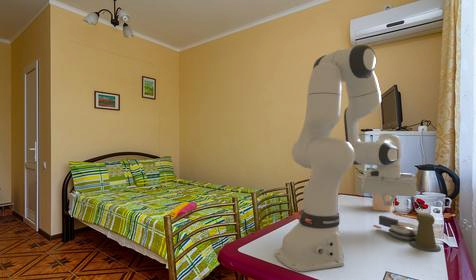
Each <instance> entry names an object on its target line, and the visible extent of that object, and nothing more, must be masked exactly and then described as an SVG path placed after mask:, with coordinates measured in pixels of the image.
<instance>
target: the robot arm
mask: <svg viewBox="0 0 476 280" xmlns="http://www.w3.org/2000/svg"><path fill="white" fill-rule="evenodd" d="M376 66H377V56H376V52H375V51H374V49H373V48H372V47H371V46H370V45H367V44H363V45H362V44H360V45H359V44H358V45H355V46H353V47H348V48H344V49H338V50H336V51H332V52H330V53H328V54H324V55H322V56H320V57H319V58H317V59H316V61H315V62H314V64H313V68H312V70H311V74H310V78H309V80H308V81H309V82H308V88H307V93H306V94H307V97H306V106H305V109H306V110H305V117H304V122H303V125H302V129H301V132H300V134H299V137H298V139H297V141H296V142H295V143H294V144H293V146H292V147H291V157H292V159H293V161H294V162H295V163H296V164H298V165H299V166H301V167H303V168H305V169H309V170H311V173H310V177H309V180H308V182H307V183H306V184H304V186H303V189H302V192H303V193H302V194H303V196H302V197H303V198H302V199H303V201H302V202H303V203H302V206H303V207H302V211H301V213H299V212H293V214H292V217H293V219H296V220H298V223H296V224H295V225H294V227H292V229H290V231H288V232H286V234H285V235H284V236H283V239H282V245H281V248H278V249H276V250H275V252H274V256H275V258H276V259H277V260H278V261H279V262H281V264H283V265H284V266H286V267H288V268H289V269H292V270H294V271H296V272H308V271H317V270H324V269H331V268H338V267H343V266H344V265H345V264H344V262H345V261H344V253H343V250H342V249H343V248H342V244H341V238H340V237H341V235H340V231H339V230H340V229H339V225H340V213H339V189H340V185H341V183H342V182H341V181H342V179H343V177H344V175H345V174H346V172H347V171H348V170H350V169H351V168H352V166H353V165H361V166H362V165H365V166H366V165H367V166H376V167H372V168H373V169H369V170H365V171H364V176H363V178H362V180H361V181H362V182H361V191H362V193H364V194H369V195H370V194H371V195H373V194H381V197H382V199H383V201H384V205H387V206H392V202H393V201H394V202H395V200H396V196H398V197H409V198H411V197H412V198H415V197H416V196H417V194H418V191H417V190H418V189H417V188H418V187H417V183H418V178H417V176H416V175H414V174H413V173H405V172H404V173H402V164H401V158H402V145H401V144H402V142H401V138H400V136H399V135H396V134H393V133H381V134H380V135H379V136H378V140H375V141H362V140H361V139H360V133H359V121H360V120H361V119H363V118H365V117H367V116H369V115H371V114H372V113H374V112H375V111H376V110H378V108H379V106H380V105H381V103H382V94H381V89H380V86H379V82H378V81H379V80H378V78H377V76H376V73H375V69H376ZM343 83H345V88H346V94H347V99H348V104H347V105H348V106H347V107H346V108H345V110H344V112H343V113H344V114H343V123H344V133H345V135H344V136H345V139H341V138H338V137H330V136H331V133H332V131H333V129H334V128H335V126H337V124H339V122H340V119H341V115H342V114H341V111H342V100H343V99H342V97H343ZM386 195H390V197H392V198H391V199H390V201H386V200H385V198H384V197H386Z"/></svg>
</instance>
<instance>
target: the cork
mask: <svg viewBox="0 0 476 280" xmlns="http://www.w3.org/2000/svg"><path fill="white" fill-rule="evenodd" d="M416 221H417V222H418V224H417V226H418V230H417V236H416V244H417V245H418V246H421V247H425V248H436V245H437V244H436V239H435V232H434V226H433V225H434V224H435V217H434V215H431V214H429V213H426V212H425V213H422V212H421V213H418V214H417V215H416Z"/></svg>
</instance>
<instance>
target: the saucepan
mask: <svg viewBox="0 0 476 280" xmlns="http://www.w3.org/2000/svg"><path fill="white" fill-rule="evenodd" d="M378 225H379V226H383V227H387V228H389V229H390V230H391V231H392V232H394V233H396V234H399V235H404V236H417V230H418V225H416V224H414V223H413V224H412V223H408V222H403V221H402V222H401V221H399V219H396V218H393V217H388V216H384V215H379V216H378Z"/></svg>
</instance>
